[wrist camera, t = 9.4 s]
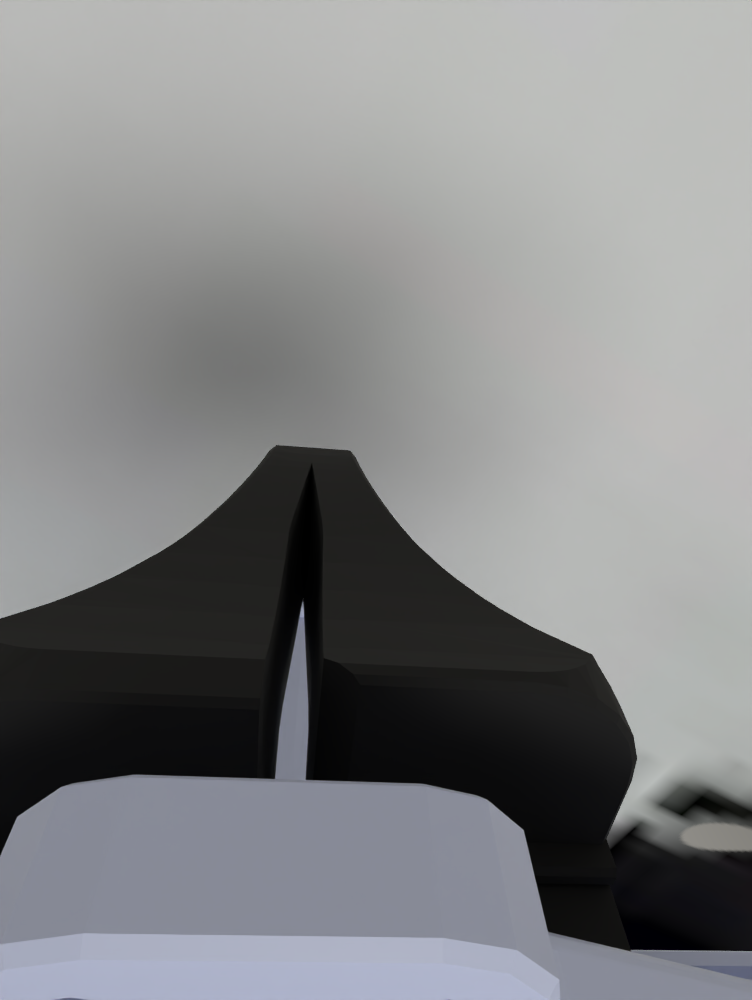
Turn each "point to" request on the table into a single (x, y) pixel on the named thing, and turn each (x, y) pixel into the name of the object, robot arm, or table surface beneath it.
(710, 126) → the table surface
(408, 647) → the robot arm
